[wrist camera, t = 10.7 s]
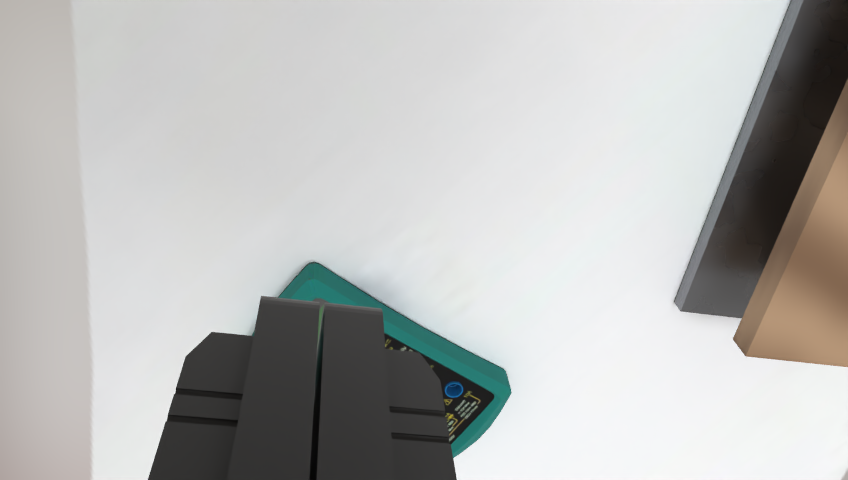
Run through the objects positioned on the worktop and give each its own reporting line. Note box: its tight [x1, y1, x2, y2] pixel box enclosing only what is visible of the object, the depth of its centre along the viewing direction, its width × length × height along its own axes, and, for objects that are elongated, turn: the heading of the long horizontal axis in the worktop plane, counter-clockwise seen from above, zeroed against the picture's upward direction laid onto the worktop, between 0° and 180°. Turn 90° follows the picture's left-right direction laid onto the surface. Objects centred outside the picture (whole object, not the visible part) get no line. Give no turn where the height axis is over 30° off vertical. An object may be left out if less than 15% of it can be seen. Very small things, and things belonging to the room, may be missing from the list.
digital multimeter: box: [252, 263, 511, 458], centre depth 45 cm, size 7×15×3 cm, turn 53°
